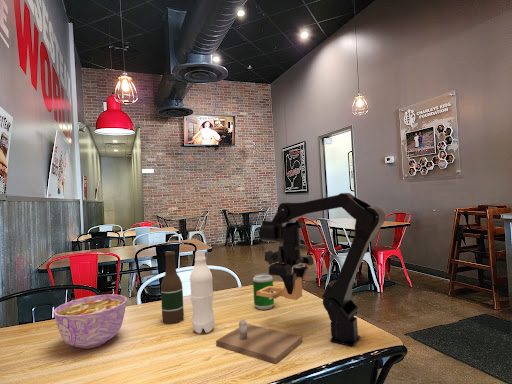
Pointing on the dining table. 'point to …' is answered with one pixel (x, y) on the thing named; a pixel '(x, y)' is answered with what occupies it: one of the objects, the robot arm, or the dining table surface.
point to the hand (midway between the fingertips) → (293, 292)
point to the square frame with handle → (282, 291)
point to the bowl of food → (90, 319)
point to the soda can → (260, 283)
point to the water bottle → (201, 295)
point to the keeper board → (259, 342)
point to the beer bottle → (171, 293)
